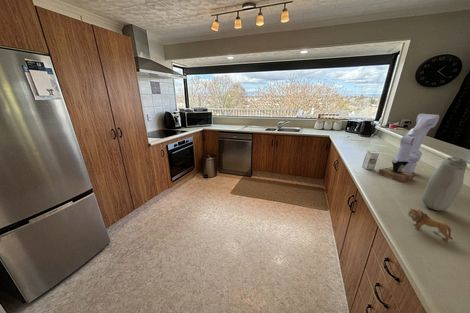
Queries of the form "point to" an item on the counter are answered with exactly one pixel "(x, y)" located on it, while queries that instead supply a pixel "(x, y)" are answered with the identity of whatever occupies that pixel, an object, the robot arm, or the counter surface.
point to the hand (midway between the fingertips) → (396, 170)
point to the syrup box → (370, 160)
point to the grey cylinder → (399, 169)
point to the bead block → (399, 177)
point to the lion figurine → (429, 223)
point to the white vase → (445, 184)
